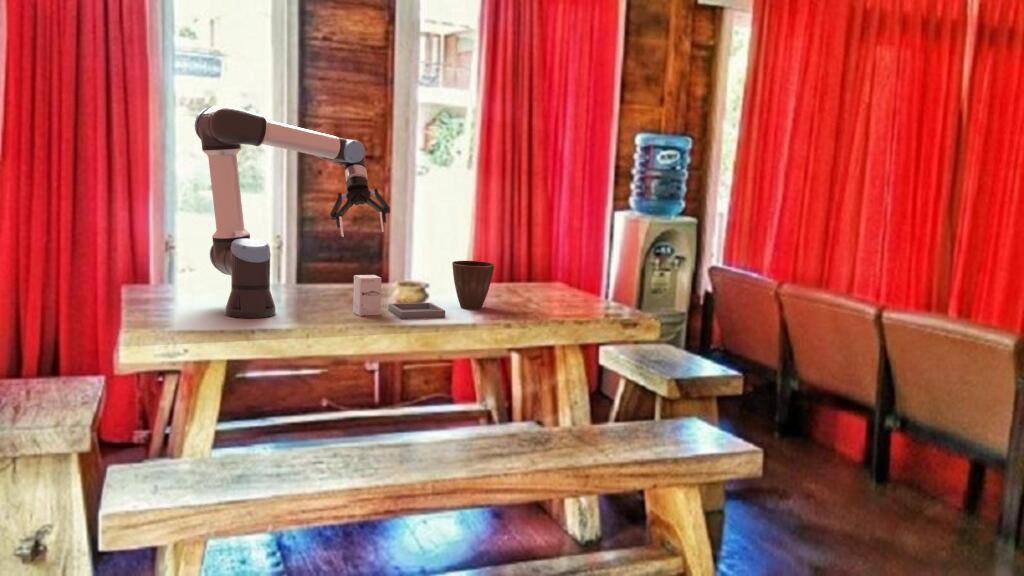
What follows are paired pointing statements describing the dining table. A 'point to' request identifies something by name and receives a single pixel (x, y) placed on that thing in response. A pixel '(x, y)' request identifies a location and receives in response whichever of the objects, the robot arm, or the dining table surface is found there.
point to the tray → (416, 310)
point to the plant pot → (472, 282)
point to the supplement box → (367, 295)
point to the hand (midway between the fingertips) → (362, 232)
